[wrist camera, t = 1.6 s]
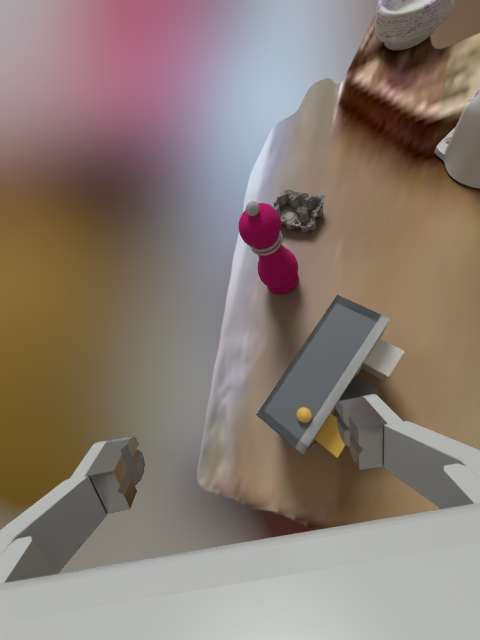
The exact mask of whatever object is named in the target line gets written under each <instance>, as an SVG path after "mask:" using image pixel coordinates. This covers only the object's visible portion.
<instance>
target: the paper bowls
mask: <svg viewBox="0 0 480 640" xmlns="http://www.w3.org/2000/svg"><path fill="white" fill-rule="evenodd" d="M454 2H455V0H379V2H378V5H377V14H376V25H375V36H376V38H377V39H378V40H379V41H381V42H384V45H385V46H386V47H387V48H388V49H390V50H404V49H408V48H411V47H414V46H416V45H418V44H420V43H421V42H423V41H424V40H426V39H427V38H428V37H429V36H430V35H431V34H432V33H433V31H434V30H435V28H436V27H437V26H438V25H440V24H441V23H442V22H443V21H444V20H445V19H446V18H447V17H448V16H449V14H450V12H451V11H452V8H453V5H454Z"/></svg>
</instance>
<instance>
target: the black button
mask: <svg viewBox="0 0 480 640" xmlns="http://www.w3.org/2000/svg"><path fill="white" fill-rule="evenodd" d="M379 391H380V390H379V389H377V388H375V387H374V386H372V385H370V384H369V383H367V382H365V381H364V380H362V379H360V378H359V377H357V376H354V378H353V379H352V381H351V382H350V384H349V385H348V387H347V388H346V390H345V392H344V393H343V395H342V396H341V398H340V399H339V401H341V400H346V399H352V398H357V397H362V396H366V395H371V394H376V395H377V394H378V393H379Z"/></svg>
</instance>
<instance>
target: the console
mask: <svg viewBox="0 0 480 640" xmlns="http://www.w3.org/2000/svg"><path fill="white" fill-rule="evenodd" d="M389 321H390V319H389V318H387V317H385V316H383V315H381V314H378V313H376V312H374V311H372V310H370V309H367V308H365V307H363V306H361V305H358V304H356V303H354V302H352V301H350V300H347V299H345V298H343V297H341V296H339V295H337V296H336V298H335V299H334V301H333V302H332V304H331V305H330V307H329V308H328V309H327V311H326V312H325V314H324V315H323V317H322V318H321V320H320V321H319V323H318V324H317V326H316V327H315V329H314V330H313V332H312V333H311V335H310V336H309V338H308V339H307V341H306V342H305V344H304V345H303V346H302V348H301V349H300V351H299V352H298V354H297V355H296V357H295V358H294V360H293V361H292V363H291V364H290V366H289V367H288V369H287V370H286V372H285V373H284V375H283V376H282V378H281V379H280V381H279V382H278V383H277V385H276V386H275V388H274V389H273V391H272V392H271V394H270V395H269V397H268V398H267V400H266V401H265V403H264V404H263V406H262V407H261V409H260V410H259V412H258V413H257V416H258V417H259V418H261V419H262V420H263V421H264V422H265V423H266V424H268V425H269V426H270V427H271V428H272V429H273V430H275V431H276V432H277V433H278V434H279V435H280V436H281V437H283V438H284V439H285V440H286V441H287V442H288V443H290V444H291V445H292V446H293V447H294V448H295V449H297V450H298V451H299V452H300V453H301V454H302V455H303V454H304V453H305V452H306V451H307V450H308V449H309V448H310V447H311V446H312V444H313V443H314V442H315V439H314V438H315V436H316V435H317V433H318V432H319V430H320V429H321V427H322V426H323V424H324V422H325V421H326V419H327V418H328V416H329V415H330V413H331V414H333V412H334V411H335V409H336V402H337V401H339V399H340V398H341V396H342V395H343V393H344V392H345V390H346V388H347V387H348V385H349V384H350V382H351V381H352V379H353V378H354V376H357V375H358V373H359V372H360V370H361V369H362V368H361V365H362V364H363V362H364V361H365V359H366V357H367V356H368V354H369V353H370V351H371V350H372V348H373V347H374V345H375V343H376V342H377V340H378V339H380V338H381V336H382V334H383V332H384V330H385V328H386V326H387V325H388V323H389Z"/></svg>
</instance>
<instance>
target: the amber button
mask: <svg viewBox="0 0 480 640" xmlns="http://www.w3.org/2000/svg"><path fill="white" fill-rule="evenodd" d="M314 439H315V440H316V441H317V442H318V443H320V444H321V445H322V446H323V447H325V448H326V449H327V450H328V451H330V452H331V453H332V454H333V455H334V456H336V457H337V458H338V456H339V455H340V453H341V451H342V450H343V448H344V447H345V444H344V442H343V440H342V439H341V436H340V434H339V430H338V426H337V417H335V416H334V415H333V414H331V413H330V415H329V416H328V418H327V419H326V421H325V422H324V424H323V426H322V427H321V429H320V430H319V432H318V433H317V435H316V436H315V438H314Z"/></svg>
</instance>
